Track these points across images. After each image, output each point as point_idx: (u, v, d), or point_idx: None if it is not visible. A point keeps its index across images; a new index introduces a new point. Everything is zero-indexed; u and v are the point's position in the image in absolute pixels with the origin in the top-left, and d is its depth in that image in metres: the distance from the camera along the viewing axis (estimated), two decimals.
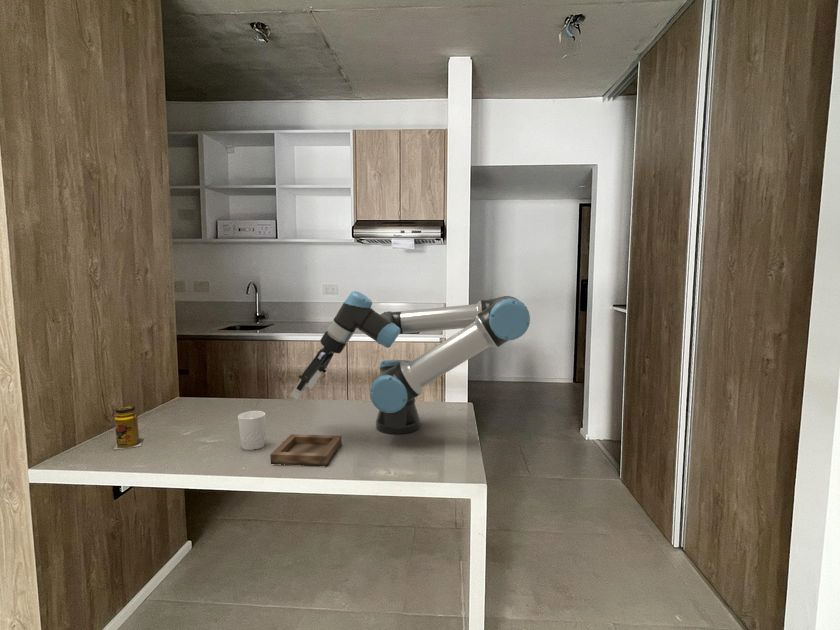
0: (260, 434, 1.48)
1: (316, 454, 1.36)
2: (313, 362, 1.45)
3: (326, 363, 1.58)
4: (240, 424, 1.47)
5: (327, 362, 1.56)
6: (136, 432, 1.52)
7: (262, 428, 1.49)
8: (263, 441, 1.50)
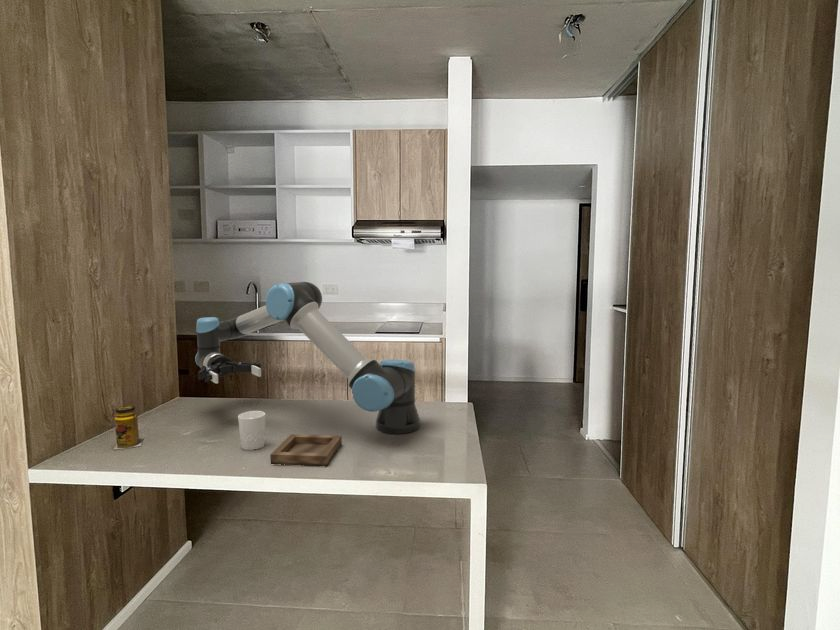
0: (260, 434, 1.48)
1: (316, 454, 1.36)
2: None
3: (241, 364, 1.67)
4: (240, 424, 1.47)
5: (235, 363, 1.66)
6: (136, 432, 1.52)
7: (262, 428, 1.49)
8: (263, 441, 1.50)
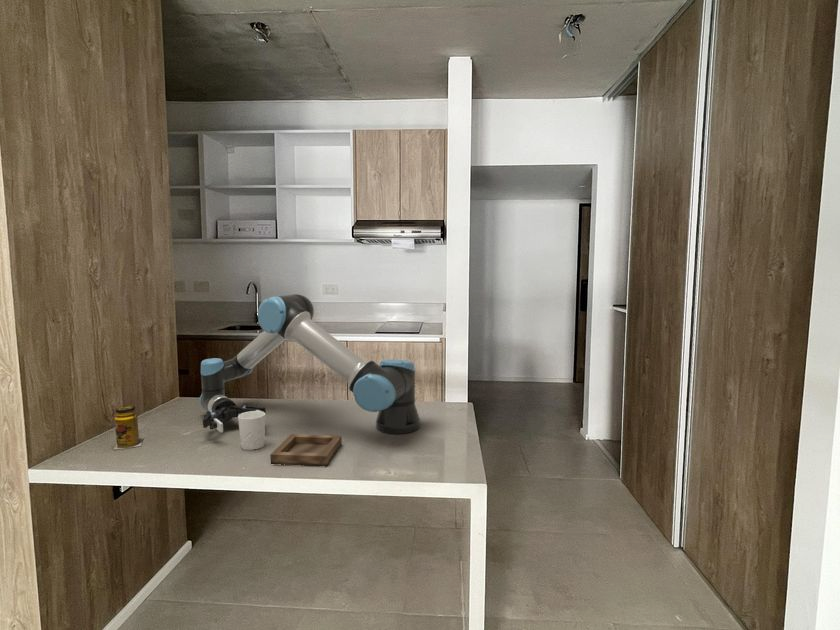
0: (260, 434, 1.48)
1: (316, 454, 1.36)
2: None
3: (246, 408, 1.65)
4: (240, 424, 1.47)
5: (240, 408, 1.65)
6: (136, 432, 1.52)
7: (262, 428, 1.49)
8: (263, 441, 1.50)
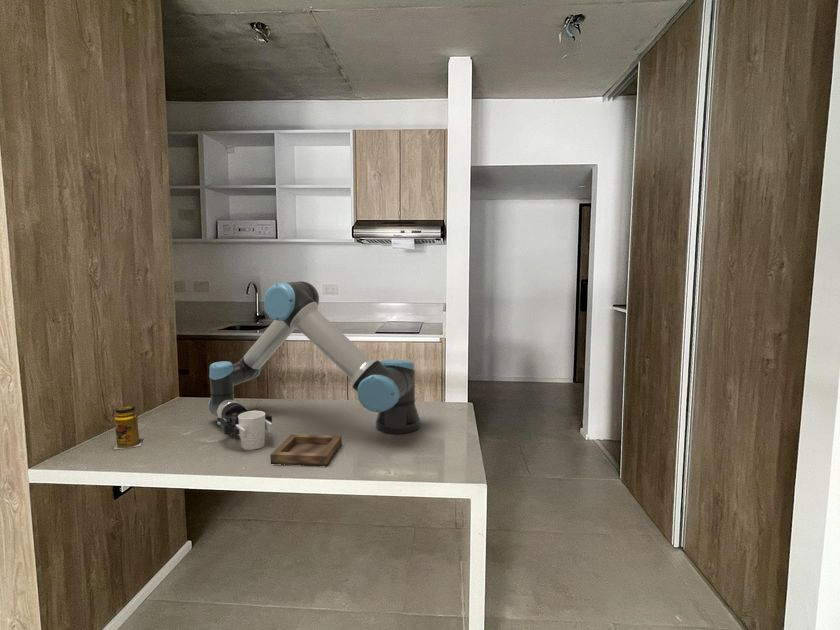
0: (260, 434, 1.48)
1: (316, 454, 1.36)
2: (221, 426, 1.52)
3: None
4: (240, 424, 1.47)
5: None
6: (136, 432, 1.52)
7: (262, 428, 1.49)
8: (263, 441, 1.50)
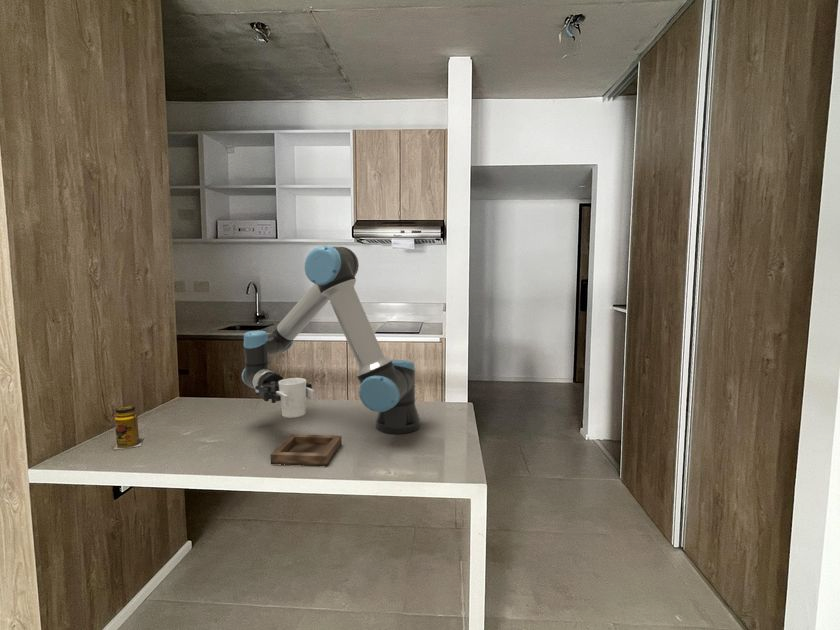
0: (302, 401, 1.41)
1: (316, 454, 1.36)
2: (260, 394, 1.45)
3: None
4: (281, 390, 1.40)
5: None
6: (136, 432, 1.52)
7: (303, 395, 1.42)
8: (304, 409, 1.43)
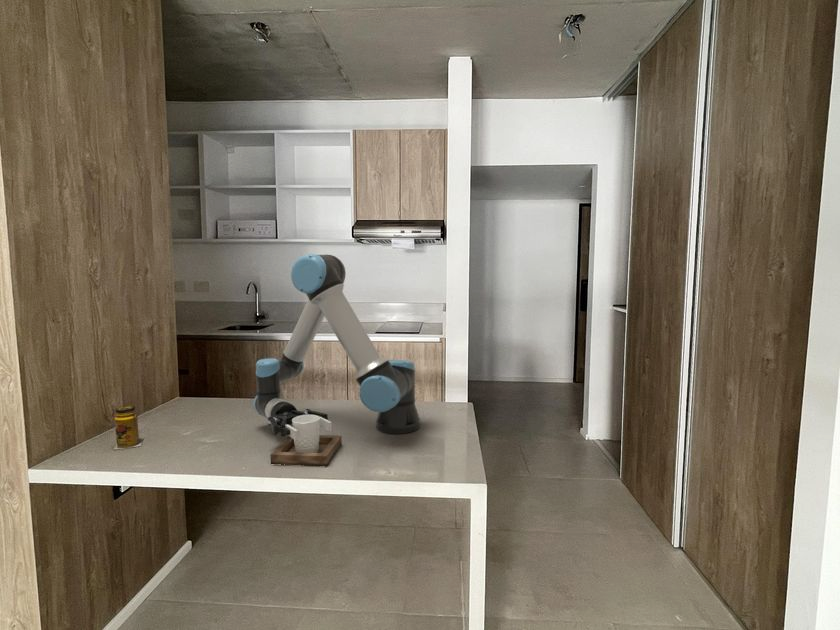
0: (315, 439, 1.41)
1: (316, 454, 1.36)
2: (271, 426, 1.45)
3: (308, 414, 1.50)
4: (295, 428, 1.40)
5: (302, 413, 1.50)
6: (136, 432, 1.52)
7: (317, 433, 1.42)
8: (318, 446, 1.43)
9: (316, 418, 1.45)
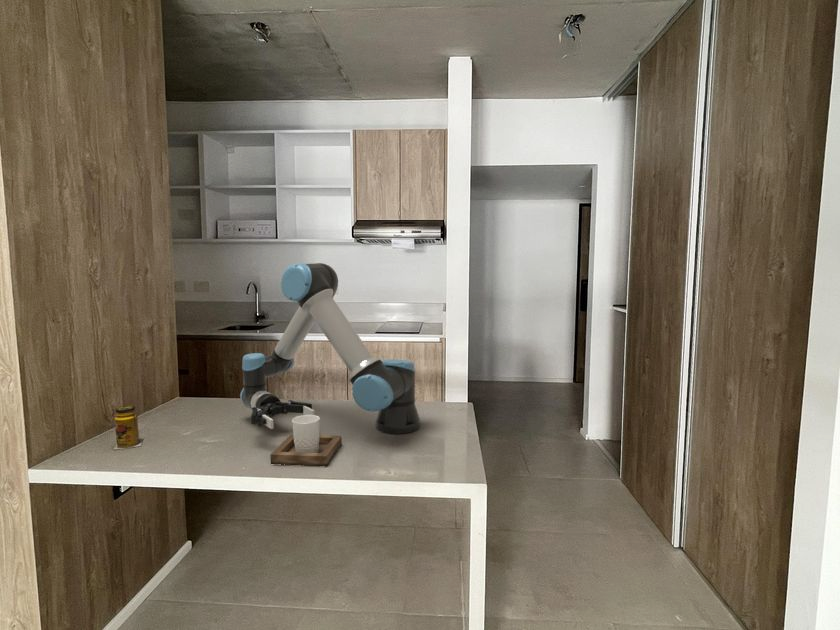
0: (315, 439, 1.41)
1: (316, 454, 1.36)
2: None
3: (292, 405, 1.60)
4: (295, 429, 1.40)
5: (286, 404, 1.60)
6: (136, 432, 1.52)
7: (317, 433, 1.42)
8: (318, 446, 1.43)
9: (316, 418, 1.45)
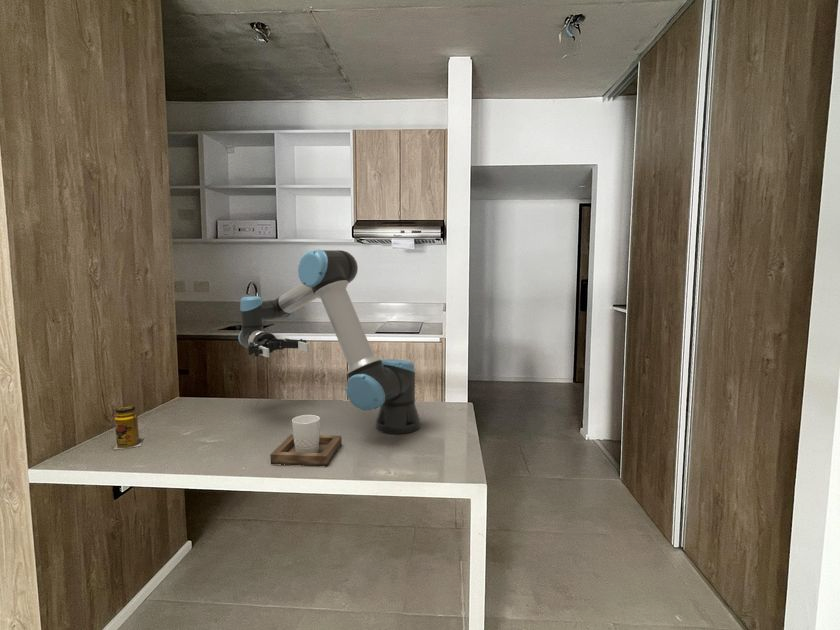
0: (315, 439, 1.41)
1: (316, 454, 1.36)
2: None
3: (287, 341, 1.68)
4: (295, 429, 1.40)
5: (282, 340, 1.68)
6: (136, 432, 1.52)
7: (317, 433, 1.42)
8: (318, 446, 1.43)
9: (316, 418, 1.45)
